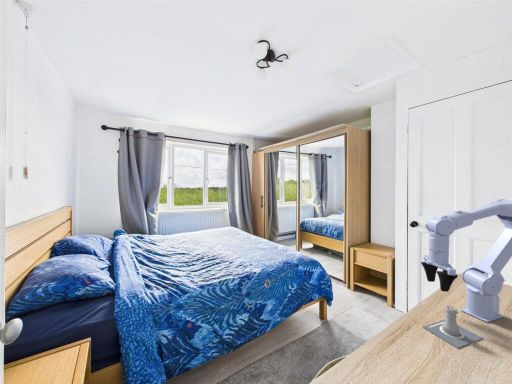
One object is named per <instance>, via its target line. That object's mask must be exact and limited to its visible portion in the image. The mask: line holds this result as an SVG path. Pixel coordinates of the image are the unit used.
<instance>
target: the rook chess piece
mask: <svg viewBox="0 0 512 384" xmlns="http://www.w3.org/2000/svg"><path fill="white" fill-rule="evenodd" d="M444 310H445V319H446V320H445V319H444V320H445V321H444V323H443V324H442V329H443V330H444V331H445V332H446V333H448V334H450V335H453V336H458V335H460V332H459V331H460V329H459V328H458V325H459V324H457V318H458V316H457V315H458V314H459V311H457V308H456V307H454V306H450V305H446V306H445V308H444Z"/></svg>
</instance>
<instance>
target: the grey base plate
mask: <svg viewBox="0 0 512 384" xmlns="http://www.w3.org/2000/svg"><path fill="white" fill-rule="evenodd" d="M445 320H446V318H445V319H443V320H439V321H436V322H434V323H430V324H427V325H423V326H422V328H423V329H424V330H427V331H428V332H430V333H431V334H432V335H434V336H436V337H438V338H439V339H441V340H443V341H445V342H447V344H449V345H451V346H453V347H454V348H455V349H461V348H463V347H465V346H468V345H471V344H474V343H476V342H478V341H481V340H483V339H484V337H482V336H480V335H478V334H476V333H474V332H472V331H470V330H468V329H467V328H464V327H462V326H461V325H459V324H457V325H458V328H459V329H460V331H459V332H460V335H458V336H453V335H450V334H448V333H446V332H445V331H444V330H443V329H442V324H443V323H444V321H445Z"/></svg>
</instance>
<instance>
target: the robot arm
mask: <svg viewBox="0 0 512 384" xmlns="http://www.w3.org/2000/svg"><path fill="white" fill-rule="evenodd" d="M494 216H496V218H498V219H499V220H500V221H499V222H501V223H502V224H503V225H504V229H503V230H502V232H501V233H500V235H499V236H498V237H497V238H496V240H495V241H494V243H493V244H492V246H491V247H490V248H489V250H488V251H487V253H486V254H485V255H484V257H483V258H482V259H481V261H479V262H475V263H472V264H470V265H469V267H467V268H465V269H463V271H462V273H461V280H462V281H463V282H464V283H465V287H466V295H465V296H466V299H465V300H466V301H465V302H466V303H465V305H466V306H465V307H462V308H460V311H461V312H463V313H465V314H468V315H470V316H473V317H474V318H476V319H478V320H481V321H483V322H485V323H489V322H492V321H494V320H495V321H496V320H497V319H501V318H504V317H503V315H502V314H500V296H499V295H498V294H500V293H501V291H502V289H503V284H504V283H505V281H506V280H505V278H504V276H503V275H502V273H501V272H502V271H503V269H504V267H506V265H507V264H508V262H509V261H510V259H511V258H512V200H509V199H498V200H494V201H491V202H489V203H487V204H486V205H483V206H480V207H477V208H475V209H473V210H470V211H465V210H460V209H457V210H454V212H453V213H449V214H447V215H445V214H443V215H441V217H432V218H430V219H429V220H428V221H427V223H426V224H425V228H426V230H427V231H428V235H429V237H428V238H429V239H428V255H427V254H426V255H423V261H421V266H422V267H423V269H424V273H425V276H426V280H427V282H430V283H434V282H435V281H436V276H438V280H439V286H440V287H439V288H440V291H441V292H448V293H449V291H450V289H451V286H452V284H453V282H454V281H456V279H457V278H458V277H459V275H458V274H457V270H456V269H455V268H454V267H453V266H452V265H451V264H450V263H449V260H450V259H449V258H450V257H449V256H450V238H451V237H450V236H451V235H452V234H454V233H455V231H458V230H459V229H463V228H466V227H470V226H472V225H473V224H474V221H477V220H482V219H486V218H490V217H494ZM438 269H439V270H438ZM441 270H442V271H441ZM436 274H437V275H436Z"/></svg>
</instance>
